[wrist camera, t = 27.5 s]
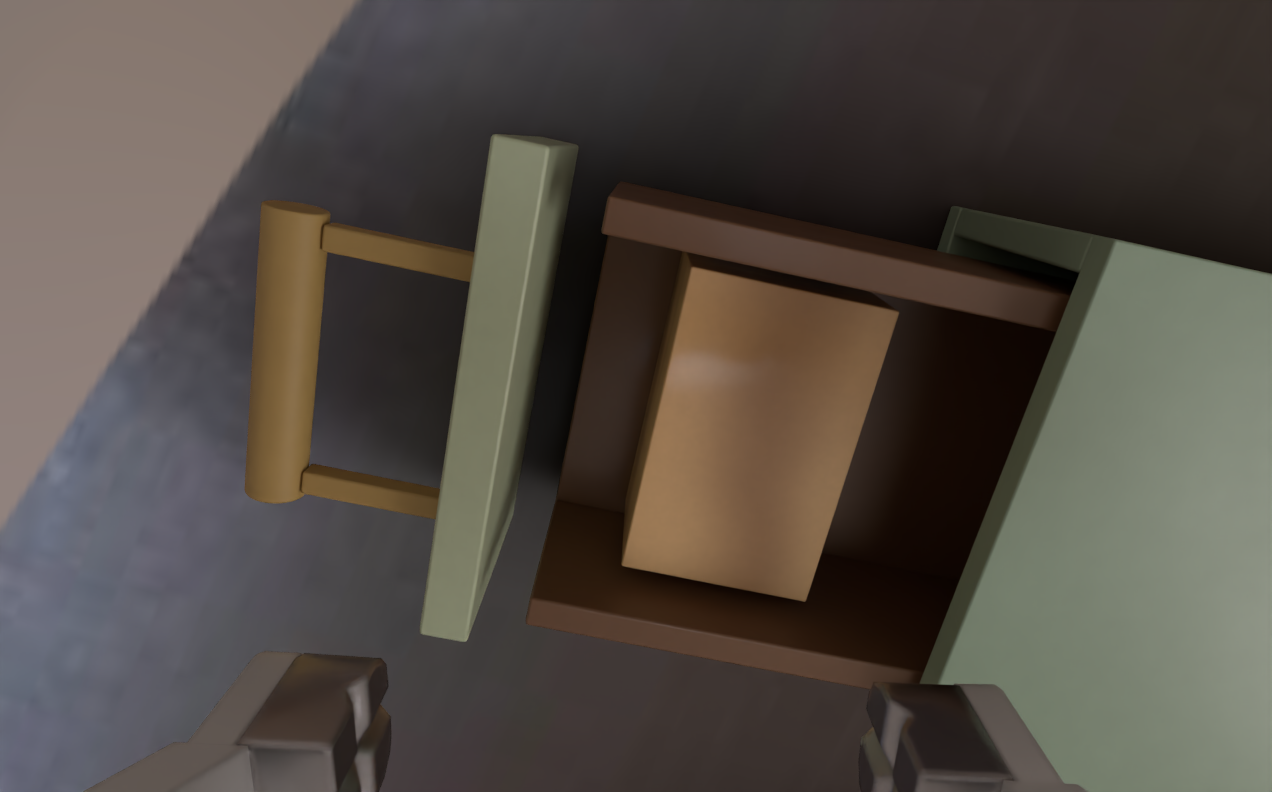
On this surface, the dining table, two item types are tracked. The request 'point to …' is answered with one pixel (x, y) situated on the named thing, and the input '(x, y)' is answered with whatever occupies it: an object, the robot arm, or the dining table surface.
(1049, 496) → the sage green box casing
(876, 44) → the dining table surface
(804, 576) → the brown wooden block
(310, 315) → the drawer
